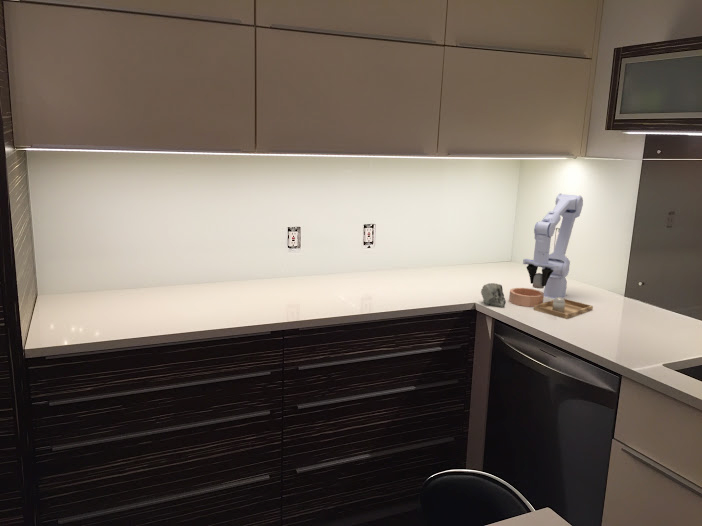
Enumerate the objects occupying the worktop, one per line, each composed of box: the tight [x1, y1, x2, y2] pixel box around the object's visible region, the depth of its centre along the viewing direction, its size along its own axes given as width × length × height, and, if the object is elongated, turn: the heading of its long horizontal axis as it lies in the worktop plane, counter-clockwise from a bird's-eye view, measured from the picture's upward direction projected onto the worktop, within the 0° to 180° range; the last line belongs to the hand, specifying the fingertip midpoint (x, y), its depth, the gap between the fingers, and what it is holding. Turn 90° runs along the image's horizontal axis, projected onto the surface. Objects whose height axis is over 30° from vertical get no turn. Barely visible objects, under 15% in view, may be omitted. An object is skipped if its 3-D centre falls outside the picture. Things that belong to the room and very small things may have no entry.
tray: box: [533, 298, 594, 320], centre depth 238 cm, size 20×14×2 cm
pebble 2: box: [552, 297, 565, 313], centre depth 235 cm, size 4×4×6 cm
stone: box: [480, 282, 506, 308], centre depth 243 cm, size 10×10×10 cm
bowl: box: [508, 287, 545, 308], centre depth 247 cm, size 13×13×5 cm
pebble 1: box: [532, 272, 545, 290], centre depth 244 cm, size 4×4×6 cm
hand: (538, 284), depth 245 cm, fingers closed on pebble 1, 4 cm apart
